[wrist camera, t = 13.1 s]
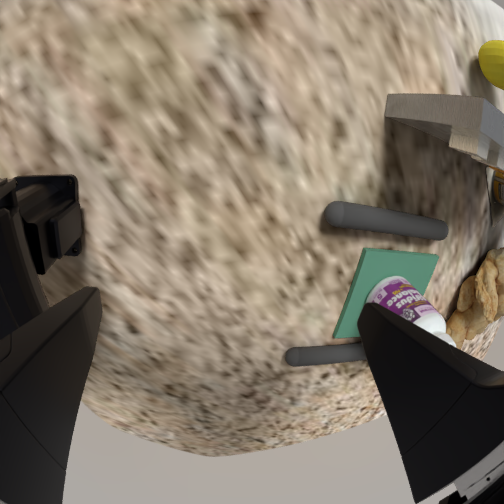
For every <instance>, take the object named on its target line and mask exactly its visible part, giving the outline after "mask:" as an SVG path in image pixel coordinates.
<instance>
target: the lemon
mask: <svg viewBox="0 0 504 504" xmlns="http://www.w3.org/2000/svg"><path fill="white" fill-rule="evenodd" d="M478 54H479V65H480V67H481V70H482V72H483V74H484V76H485V77H486V78H487V80H488V81H489V82H491V83H492V84H493V85H494V86H496V87H498V88H500V89H502V90H504V41H501V40H492V41H488V42H486V43H485V44H484V45H482V46H481V48H480V50H479V52H478Z"/></svg>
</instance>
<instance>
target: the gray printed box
mask: <svg viewBox="0 0 504 504" xmlns="http://www.w3.org/2000/svg"><path fill="white" fill-rule="evenodd" d="M385 117H388V118H390V119H393V120H396V121H398V122H401V123H404V124H406V125H409V126H411V127H413V128H416V129H418V130H421V131H423V132H425V133H428V134H430V135H432V136H434V137H436V138H439V139H441V140H443V141H445V142H447V143H449V147H451V148H453V149H455V150H457V151H459V152H463V153H466V154H469V155H471V158H473V159H475V160H477V161H478V162H481V163H484V164H486V165H489V168H491V169H493V170H494V171H496V172H499V173H501V174H503V176H504V114H503V113H502V112H501V111H499V110H498V109H497V108H496V107H495V106H494V105H492V104H491V103H490V102H489V101H487V100H486V99H485V98H482V97H472V96H461V95H446V94H388V98H387V104H386V111H385Z"/></svg>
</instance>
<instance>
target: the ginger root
mask: <svg viewBox="0 0 504 504" xmlns="http://www.w3.org/2000/svg"><path fill="white" fill-rule="evenodd" d="M501 316H504V247H503V248H500V249H492V250H490V251H488V253H487V256H486V258H485V260H484V261H483V263H482V265H481V266H480V268H479V270H478V272H477V274H476V276H475V275H473V276H470V277H468V278H467V279H466V280H465V281H464V282H463V284H462V286H461V289H460V294H459V298H458V302H457V309H456V310H455V311H454V312H453V314H452V315H451V317H450V318H449V320H448V321H447V323H446V334H448V335H449V336H450V337H451V338H452V340H453V341H454V342H455V344H456V348H458V349H460V350H461V347H462V345H463V342H464V339H466V340H472V339H473V338H474V337H475V336H476V334H481V333H482V332H483V331H484V330H485V328H486V327H487V325H488V324H489V323H492V322H493V321H496V320H498V319H499V318H500V317H501Z"/></svg>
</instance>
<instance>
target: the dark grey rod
mask: <svg viewBox="0 0 504 504" xmlns="http://www.w3.org/2000/svg"><path fill="white" fill-rule="evenodd" d="M325 218H326V220H327V222H328V223H329V224H330V225H332V226H334V227H341V228H350V229H358V230H366V231H374V232H382V233H390V234H397V235H404V236H412V237H419V238H426V239H433V240H443V239H445V238H446V237H447V235H448V226H447V224H446V223H445V222H444V221H442V220H438V219H433V218H429V217H424V216H419V215H414V214H409V213H404V212H399V211H394V210H389V209H383V208H378V207H372V206H366V205H360V204H354V203H348V202H342V201H334V202H331V203H330V204H329V205H328V206H327V207H326V209H325Z"/></svg>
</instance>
